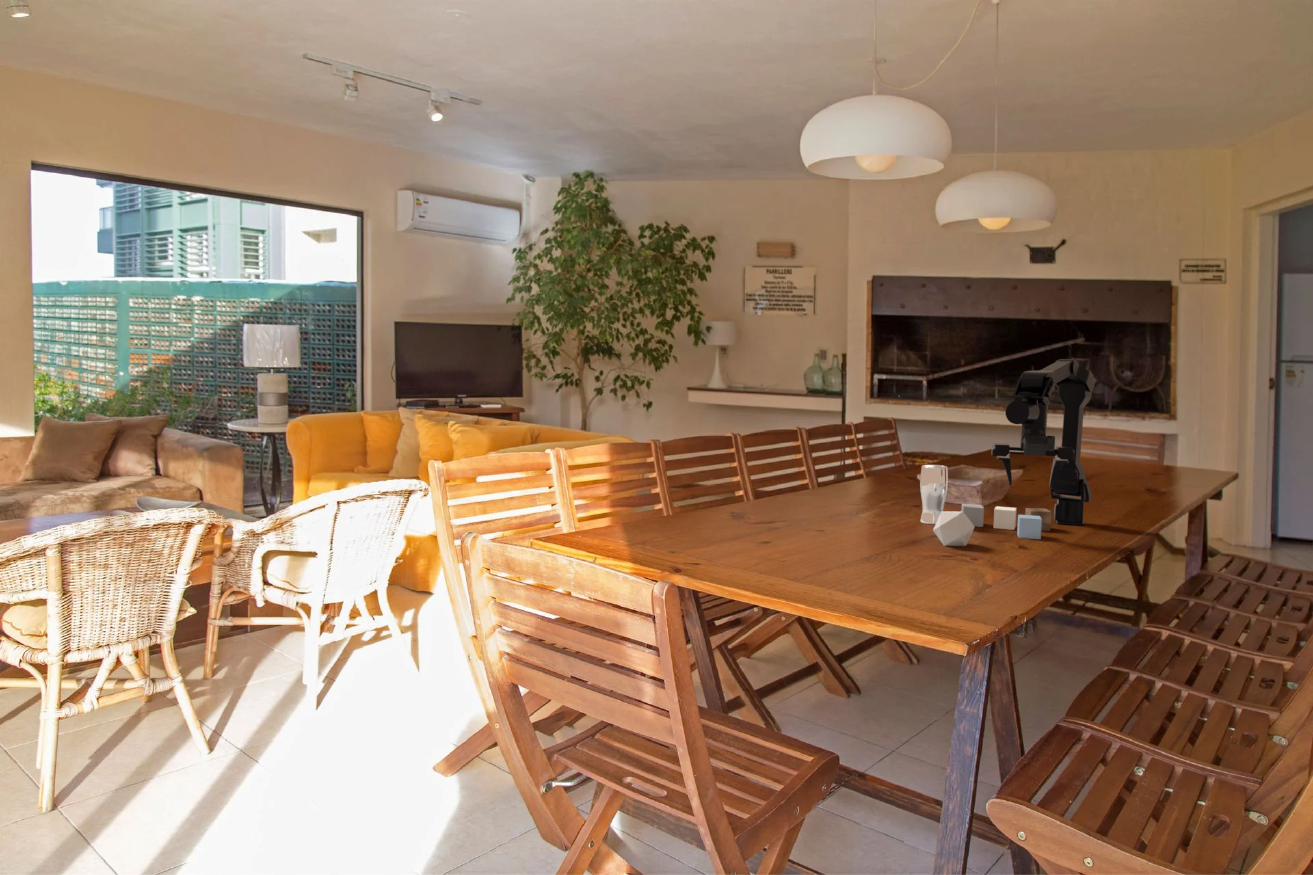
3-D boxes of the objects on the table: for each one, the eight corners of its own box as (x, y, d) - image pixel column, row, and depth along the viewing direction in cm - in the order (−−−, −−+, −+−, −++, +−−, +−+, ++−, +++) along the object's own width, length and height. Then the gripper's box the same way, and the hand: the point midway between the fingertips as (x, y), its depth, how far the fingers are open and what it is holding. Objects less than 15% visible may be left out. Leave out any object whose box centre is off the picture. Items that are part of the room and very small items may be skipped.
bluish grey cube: (1038, 535, 235) (1039, 515, 235) (1040, 539, 230) (1041, 519, 230) (1017, 534, 237) (1018, 514, 236) (1018, 538, 232) (1019, 517, 231)
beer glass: (949, 525, 247) (951, 468, 246) (922, 524, 247) (924, 467, 246) (941, 520, 254) (944, 464, 253) (915, 519, 254) (918, 464, 253)
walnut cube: (1044, 527, 246) (1045, 508, 246) (1050, 531, 241) (1051, 511, 241) (1024, 526, 247) (1025, 507, 246) (1029, 530, 242) (1030, 511, 241)
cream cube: (1015, 526, 247) (1016, 507, 246) (1014, 530, 242) (1014, 510, 242) (995, 525, 249) (996, 506, 248) (993, 528, 244) (994, 509, 244)
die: (966, 553, 217) (985, 517, 219) (933, 533, 218) (952, 498, 220) (954, 558, 224) (973, 524, 227) (922, 538, 226) (941, 505, 228)
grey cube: (980, 523, 251) (981, 504, 250) (983, 527, 246) (984, 508, 245) (960, 522, 252) (961, 504, 251) (962, 526, 247) (963, 507, 246)
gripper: (995, 423, 227) (991, 488, 228) (1079, 427, 221) (1075, 493, 222) (993, 420, 237) (989, 482, 238) (1073, 424, 232) (1069, 487, 233)
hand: (1030, 486), depth 233 cm, fingers open, 9 cm apart
